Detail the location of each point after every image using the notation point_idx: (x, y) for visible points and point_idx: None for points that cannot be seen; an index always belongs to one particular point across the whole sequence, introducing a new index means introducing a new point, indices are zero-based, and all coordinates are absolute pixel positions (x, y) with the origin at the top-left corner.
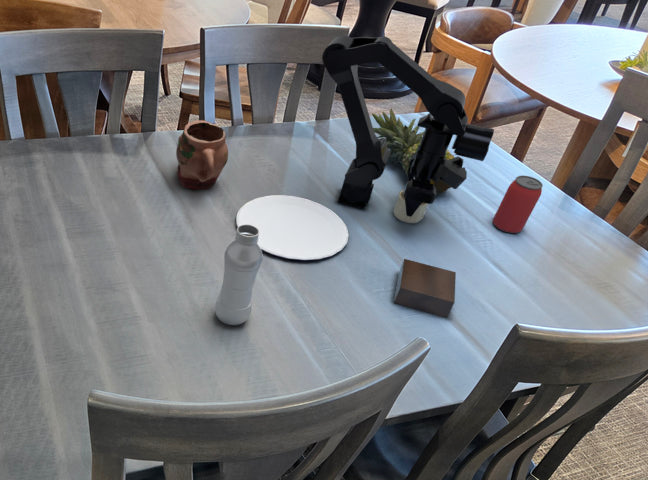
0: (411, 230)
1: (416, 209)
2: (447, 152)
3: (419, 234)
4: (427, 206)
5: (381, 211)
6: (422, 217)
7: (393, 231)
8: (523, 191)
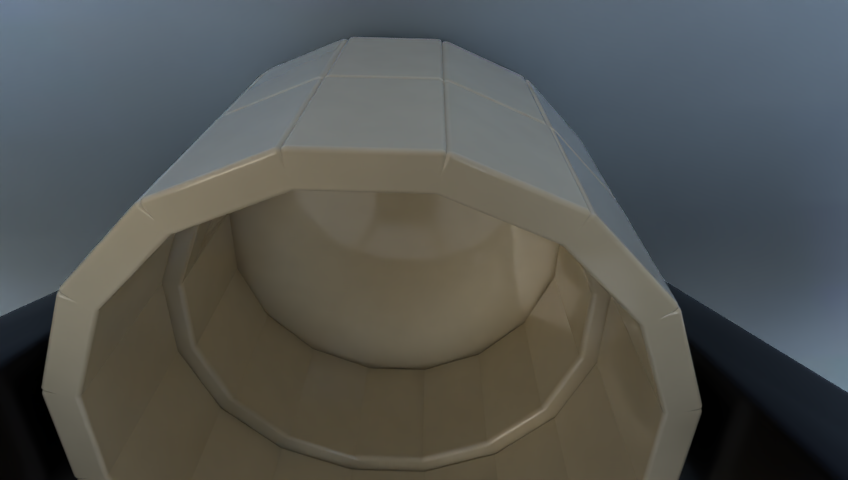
0: (753, 162)
1: (811, 375)
2: None
3: (842, 53)
4: (475, 127)
5: None
6: (497, 72)
7: (814, 342)
8: None
